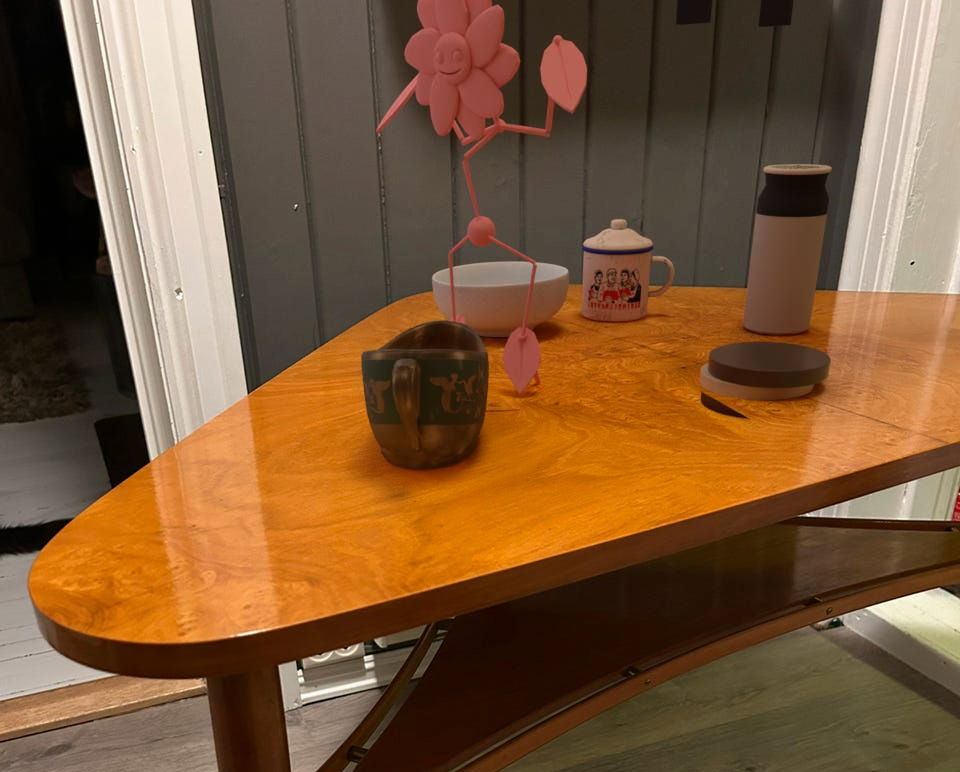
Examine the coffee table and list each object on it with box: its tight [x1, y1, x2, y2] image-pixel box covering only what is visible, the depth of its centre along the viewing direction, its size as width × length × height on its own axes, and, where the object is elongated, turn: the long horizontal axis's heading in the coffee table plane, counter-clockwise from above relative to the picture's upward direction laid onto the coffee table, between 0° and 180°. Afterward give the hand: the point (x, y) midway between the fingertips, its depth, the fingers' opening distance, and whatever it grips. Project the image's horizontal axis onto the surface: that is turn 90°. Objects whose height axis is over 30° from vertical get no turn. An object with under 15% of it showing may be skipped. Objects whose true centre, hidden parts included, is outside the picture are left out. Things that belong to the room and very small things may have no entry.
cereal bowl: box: [431, 261, 570, 338], centre depth 117 cm, size 17×17×7 cm
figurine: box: [375, 0, 588, 413], centre depth 87 cm, size 15×26×35 cm, turn 48°
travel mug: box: [742, 163, 833, 336], centre depth 111 cm, size 8×8×18 cm
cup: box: [360, 319, 490, 471], centre depth 79 cm, size 13×20×10 cm, turn 147°
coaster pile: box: [698, 341, 832, 420], centre depth 89 cm, size 12×11×4 cm
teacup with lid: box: [581, 218, 675, 323], centre depth 121 cm, size 12×9×12 cm
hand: (735, 25), depth 79 cm, fingers open, 13 cm apart
